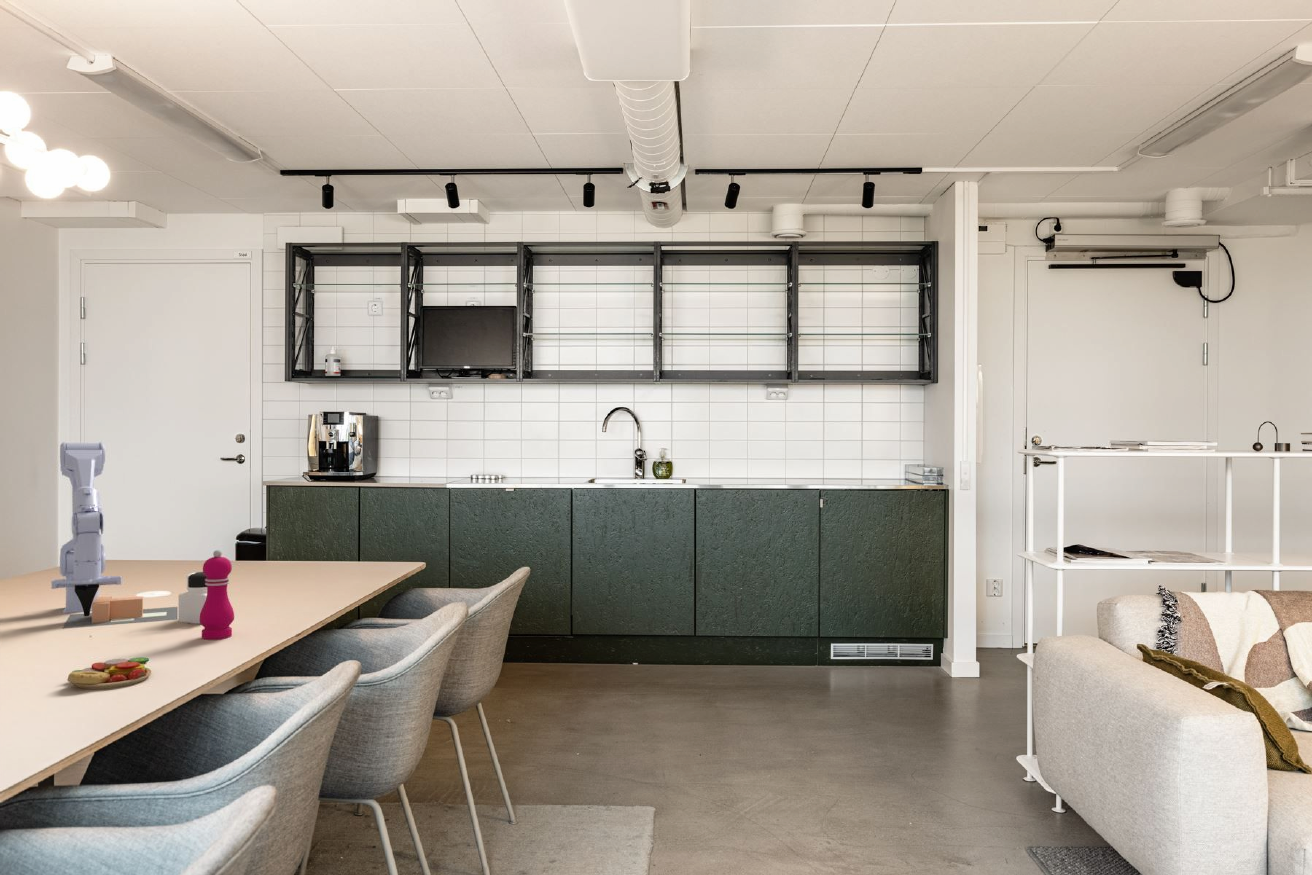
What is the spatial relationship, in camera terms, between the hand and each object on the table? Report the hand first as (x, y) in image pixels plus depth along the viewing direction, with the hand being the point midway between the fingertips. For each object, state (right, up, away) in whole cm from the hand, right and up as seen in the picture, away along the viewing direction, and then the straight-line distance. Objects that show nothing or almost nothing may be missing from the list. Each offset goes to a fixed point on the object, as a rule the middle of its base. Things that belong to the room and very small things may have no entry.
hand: (86, 615), depth 220 cm
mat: (+7, -2, +4) cm, 8 cm away
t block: (+6, -1, +3) cm, 7 cm away
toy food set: (+37, -3, -51) cm, 64 cm away
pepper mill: (+40, -2, -15) cm, 42 cm away
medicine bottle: (+27, -2, +2) cm, 27 cm away
